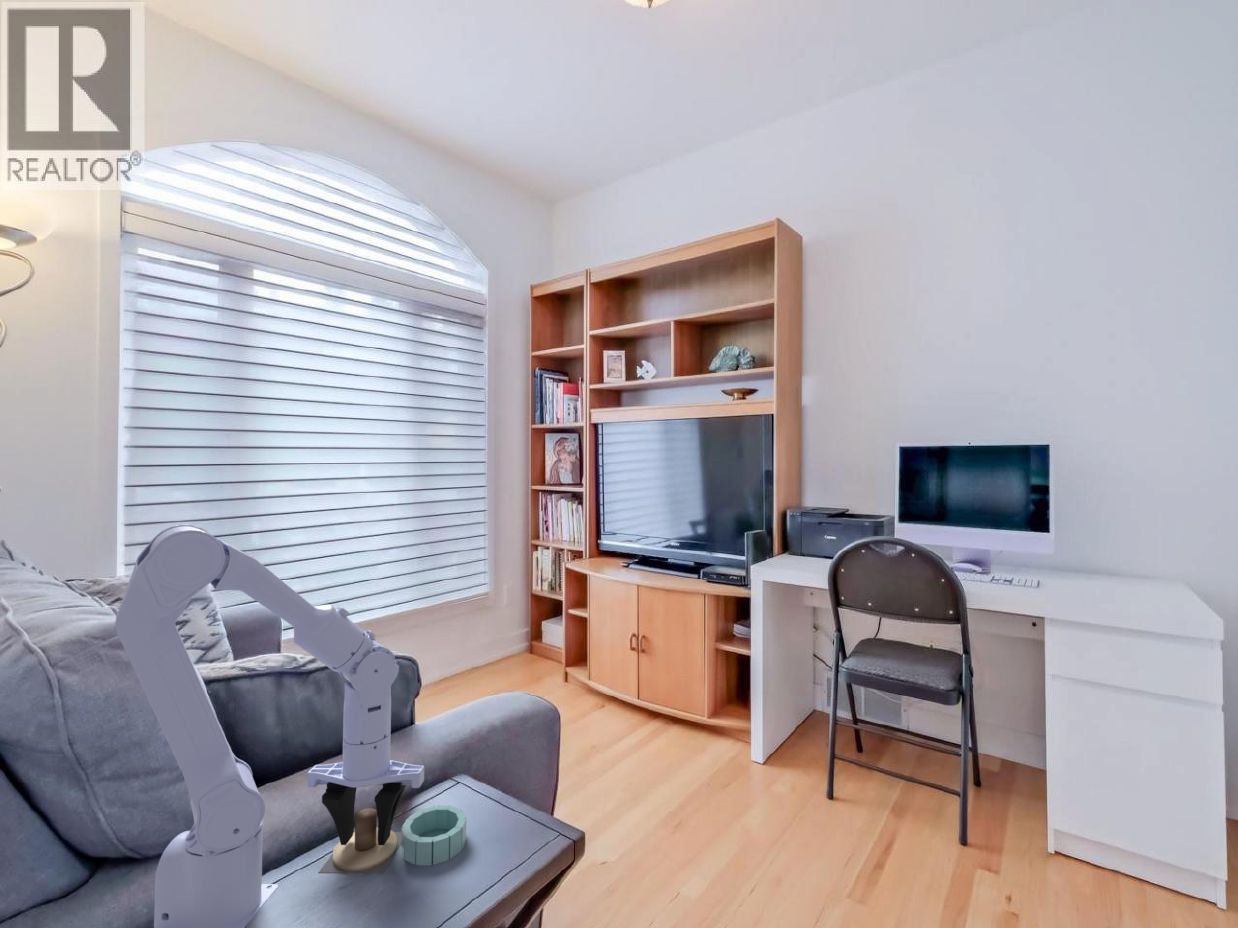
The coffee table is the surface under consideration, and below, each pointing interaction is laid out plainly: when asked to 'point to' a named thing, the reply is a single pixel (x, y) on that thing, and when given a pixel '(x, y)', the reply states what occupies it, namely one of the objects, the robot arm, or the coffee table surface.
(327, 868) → the mat
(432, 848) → the bowl
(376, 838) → the lid
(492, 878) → the coffee table surface
